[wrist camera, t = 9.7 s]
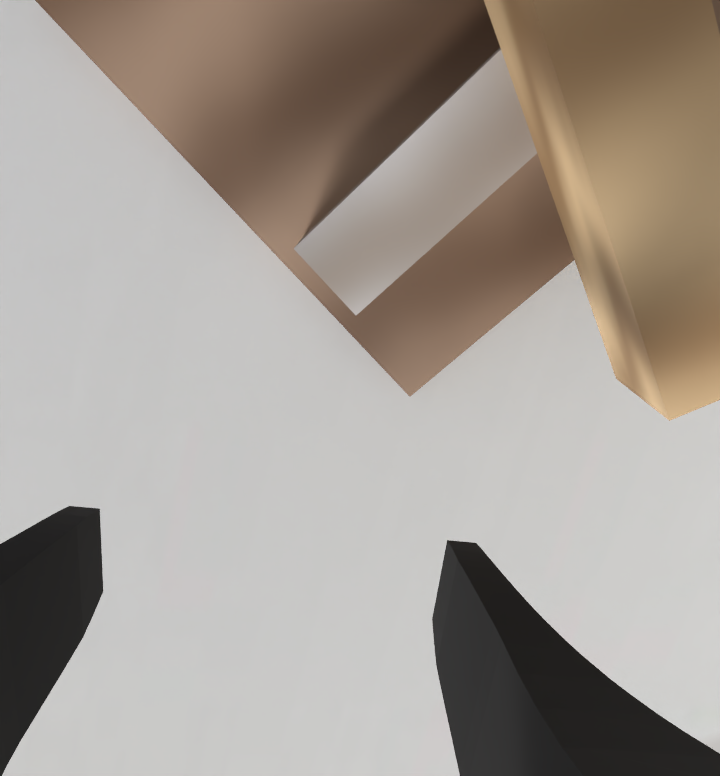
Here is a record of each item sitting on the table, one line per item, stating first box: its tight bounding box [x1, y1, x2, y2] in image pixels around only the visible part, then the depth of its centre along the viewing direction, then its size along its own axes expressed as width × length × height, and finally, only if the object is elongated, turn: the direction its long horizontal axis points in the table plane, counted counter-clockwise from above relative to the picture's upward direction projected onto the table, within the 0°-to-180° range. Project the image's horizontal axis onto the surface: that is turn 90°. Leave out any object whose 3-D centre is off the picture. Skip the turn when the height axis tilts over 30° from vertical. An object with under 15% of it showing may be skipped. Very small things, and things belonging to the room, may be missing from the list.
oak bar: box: [484, 0, 720, 421], centre depth 13 cm, size 16×3×3 cm, turn 26°
